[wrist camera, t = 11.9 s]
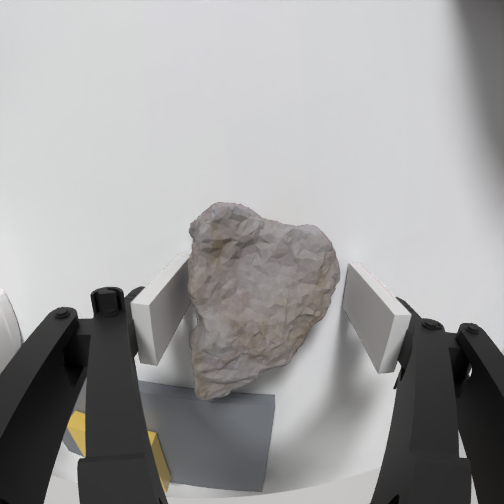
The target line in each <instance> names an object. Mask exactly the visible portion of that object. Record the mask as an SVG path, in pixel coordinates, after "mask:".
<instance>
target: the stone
mask: <svg viewBox="0 0 504 504" xmlns="http://www.w3.org/2000/svg"><path fill="white" fill-rule="evenodd" d="M189 233H190V235H191V237H192V238H193V239H194V240H195V242H194V243H193V244H192V253H191V255H190V258H189V260H188V272H189V274H188V276H189V282H188V285H187V289H188V294H189V297H190V299H191V302H192V304H193V306H194V313H195V315H196V317H197V325H196V327H195V329H194V330H193V331H192V332H191V333H190V336H189V342H190V347H191V350H192V353H191V363H192V368H193V376H194V387H195V393H196V396H197V398H198V399H201V400H209V399H213V398H218V397H224V396H226V395H228V394H229V393H230V392H231V391H232V390H233V389H238V388H240V387H243V386H246V385H248V384H250V383H251V382H253V381H255V380H256V378H260V376H261V374H262V373H263V372H265V371H267V370H269V369H272V368H275V367H280V366H284V365H286V364H288V363H289V362H290V360H291V358H292V357H293V356H294V354H295V353H296V352H297V349H298V348H299V347H300V346H301V345H302V344H303V341H304V339H305V337H306V334H307V332H308V331H309V329H310V328H311V327H312V326H313V325H314V324H315V323H317V322H318V321H320V320H321V319H322V318H323V317H324V316H325V314H326V312H327V309H328V307H329V305H330V303H331V299H330V297H331V296H332V294H333V293H334V291H335V286H336V284H337V283H338V282H339V280H340V268H339V263H338V260H337V258H336V252H335V250H334V248H333V246H332V243H331V241H330V240H329V239H328V238H327V236H326V235H325V234H324V233H323V232H322V231H321V230H320V229H319V228H318V227H317V226H314V225H307V224H306V225H301V226H293V225H286V224H282V223H280V222H278V221H273V220H267V219H265V218H262V217H261V216H259V215H258V214H257V213H255V212H254V211H253V210H251V209H250V208H248V207H245V206H243V205H241V204H235V203H223V202H217V203H215V204H213V205H211V206H210V207H209V208H208V209H207V210H206V211H204V212H203V213H202V214H201V216H198V218H197V220H194V222H192V223H191V226H190V229H189Z"/></svg>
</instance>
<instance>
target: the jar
mask: <svg viewBox="0 0 504 504" xmlns="http://www.w3.org/2000/svg"><path fill="white" fill-rule="evenodd" d="M20 348H21V337H20V331H19V327H18V323H17V320H16V317H15V314H14V311H13V308H12V306H11V304H10V301H9V299H8V297H7V295H6V293H5V292H4V291H3V290H2V289H1V288H0V373H1V372H2V371H3V370H4V368H5V367H6V366H7V364H8V363H9V362H10V360H11V359H12V358H13V356H14V355H15V354H16V353H17V351H18V350H19V349H20Z"/></svg>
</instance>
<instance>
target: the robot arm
mask: <svg viewBox="0 0 504 504" xmlns="http://www.w3.org/2000/svg"><path fill="white" fill-rule="evenodd" d="M189 258H190V255H179V254H178V255H177V256H176V257H175V258H174V259H173V260H172V261H171V262H170V263H169V264H168V265H167V266H166V267H165V268H164V269H163V270H162V271H161V272H160V273H159V274H158V275H157V276H156V277H155V278H154V279H153V280H152V281H151V282H150V283H149V284H148V285H147V286H146V287H141V286H140V287H138V288H136V289H134V290H132V291H131V292H130V293H129V294H128V295H127V296H126V297H125V298H124V294H123V290H122V289H120V288H117V287H104V288H100V289H97V290H95V291H93V292H92V293H91V301H92V307H93V312H94V317H93V318H92V319H78V315H77V311H76V310H75V309H73V308H69V307H61V308H57V309H55V310H53V311H52V312H50V313H49V314H48V315H47V316H46V318H45V319H44V320H43V321H42V322H41V323H40V325H39V326H38V327H37V328H36V329H35V330H34V332H33V333H32V334H31V335H30V336H29V338H28V339H27V340H26V341H25V343H24V344H23V345H22V346H21V348H20V349H19V350H18V351H17V353H16V354H15V355H14V356H13V358H12V359H11V360H10V362H9V363H8V364H7V366H6V367H5V368H4V370H3V371H2V372H1V374H0V504H43V503H44V499H45V496H46V492H47V488H48V484H49V481H50V477H51V474H52V470H53V467H54V464H55V460H56V457H57V454H58V451H59V448H60V445H61V442H62V439H63V436H64V433H65V431H66V428H67V425H68V422H69V420H70V417H71V414H72V412H73V409H74V407H75V404H76V401H77V399H78V396H79V394H80V391H81V389H82V387H83V384H84V382H85V379H86V377H87V383H86V404H85V447H86V457H85V458H80V459H79V461H78V467H77V473H78V488H79V498H80V504H168V502H167V499H166V496H165V493H164V490H163V487H162V484H161V480H160V477H159V473H158V470H157V466H156V463H155V459H154V455H153V451H152V447H151V443H150V439H149V435H148V431H147V426H146V422H145V417H144V412H143V407H142V402H141V396H140V391H139V385H138V379H137V372H136V366H135V361H134V357H135V355H136V354H137V352H138V355H139V360H140V363H144V364H150V365H156V366H157V365H158V363H159V361H160V359H161V358H162V356H163V354H164V352H165V350H166V348H167V346H168V344H169V342H170V340H171V339H172V337H173V335H174V333H175V331H176V329H177V327H178V325H179V323H180V322H181V320H182V318H183V316H184V314H185V312H186V310H187V309H188V307H189V305H190V303H191V299H190V297H189V294H188V289H187V285H188V282H189V276H188V274H189V272H188V260H189ZM342 307H343V309H344V310H345V312H346V314H347V316H348V318H349V320H350V321H351V323H352V325H353V327H354V329H355V331H356V332H357V334H358V336H359V338H360V340H361V342H362V344H363V346H364V348H365V349H366V351H367V353H368V355H369V357H370V359H371V361H372V363H373V365H374V367H375V369H376V371H377V373H378V374H380V373H390V372H394V370H395V367H396V364H397V361H399V363H400V364H401V366H402V367H401V370H400V372H399V375H398V378H397V380H396V383H395V385H394V388H393V389H396V388H397V390H396V397H395V404H394V410H393V416H392V421H391V426H390V431H389V436H388V441H387V446H386V450H385V454H384V458H383V462H382V466H381V470H380V474H379V477H378V481H377V484H376V488H375V491H374V494H373V497H372V501H371V503H370V504H470V503H471V474H472V478H473V482H474V486H475V490H476V495H477V500H478V504H504V355H503V354H502V353H501V352H500V350H499V349H498V348H497V346H496V345H495V344H494V342H493V341H492V340H491V339H490V337H489V336H488V335H487V334H486V332H485V331H484V330H483V329H482V328H481V327H479V326H478V325H476V324H473V323H463V324H461V325H460V327H459V329H458V332H457V333H449V332H445V329H444V327H443V325H442V324H441V323H439V322H437V321H435V320H432V319H425V318H423V319H422V318H421V317H420V316H419V315H418V314H417V313H416V312H415V311H414V310H413V309H412V308H411V307H410V306H409V305H408V304H407V303H406V302H405V301H404V300H402V299H400V298H398V297H394V296H393V295H392V294H391V293H390V292H389V290H388V289H387V288H386V287H385V286H384V285H383V284H382V283H381V282H380V281H379V280H378V279H377V278H376V277H375V276H374V275H373V274H372V273H371V272H370V271H369V270H368V269H367V268H366V267H365V266H364V265H363V264H361V263H349V266H348V273H347V280H346V287H345V293H344V299H343V305H342ZM471 368H472V373H471V376H469V372H470V370H471ZM458 430H459V433H460V436H461V439H462V442H463V445H464V449H465V452H466V455H467V458H459V440H458V439H459V438H458Z"/></svg>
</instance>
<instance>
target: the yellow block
mask: <svg viewBox="0 0 504 504" xmlns="http://www.w3.org/2000/svg"><path fill="white" fill-rule="evenodd" d="M67 428H68V430H69V432H70V433H71V435H72V437H73V439H74V440H75V442H76V444H77V446H78V447H79V449H80V451H81V452H82V454H83V455H84V457H86V447H85V414H84V413H81V412H78V411H75V412H74V413H73V414H72V416H71V417H70V420H69V422H68V425H67ZM148 435H149V439H150V443H151V447H152V451H153V455H154V459H155V463H156V466H157V470H158V473H159V477H160V480H161V484H162V487H163V490H164V492H167V490H168V486H169V483H170V479H171V476H170V473H169V471H168V468H167V465H166V462H165V459H164V456H163V453H162V450H161V447H160V443H159V440H158V437H157V434H156V433H155V432H151V431H148Z"/></svg>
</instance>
